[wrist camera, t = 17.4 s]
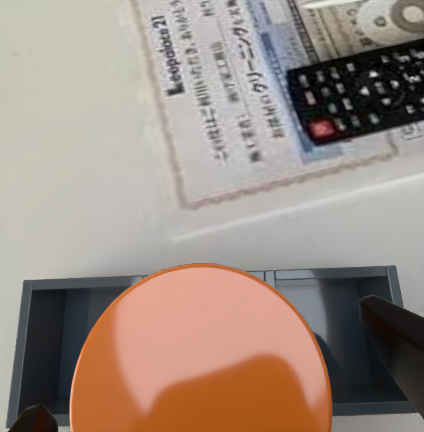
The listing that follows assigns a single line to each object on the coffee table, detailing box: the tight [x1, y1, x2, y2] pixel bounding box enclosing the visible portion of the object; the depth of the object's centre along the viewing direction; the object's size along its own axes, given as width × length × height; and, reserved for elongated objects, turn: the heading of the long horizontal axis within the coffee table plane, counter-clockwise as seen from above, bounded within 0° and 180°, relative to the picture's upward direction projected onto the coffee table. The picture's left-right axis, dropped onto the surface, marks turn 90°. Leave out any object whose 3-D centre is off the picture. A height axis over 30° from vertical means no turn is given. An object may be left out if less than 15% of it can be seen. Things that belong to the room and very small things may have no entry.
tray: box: [6, 266, 418, 429], centre depth 16 cm, size 16×6×4 cm, turn 92°
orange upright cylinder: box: [70, 263, 333, 432], centre depth 11 cm, size 4×4×13 cm
